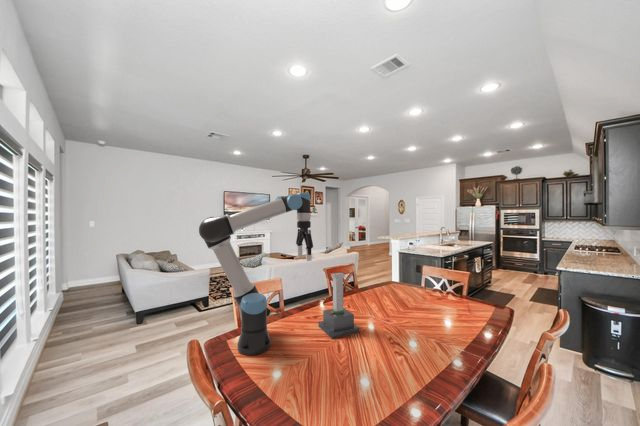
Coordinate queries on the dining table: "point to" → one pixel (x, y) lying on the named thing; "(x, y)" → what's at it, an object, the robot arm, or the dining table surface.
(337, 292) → the column
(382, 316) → the dining table surface
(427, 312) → the dining table surface
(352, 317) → the stand base
